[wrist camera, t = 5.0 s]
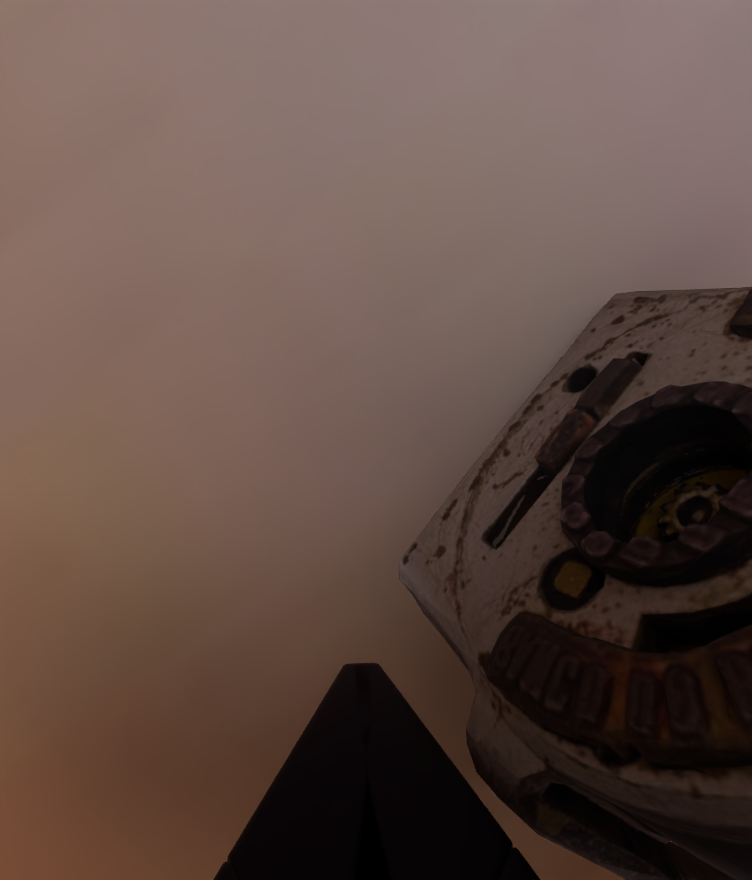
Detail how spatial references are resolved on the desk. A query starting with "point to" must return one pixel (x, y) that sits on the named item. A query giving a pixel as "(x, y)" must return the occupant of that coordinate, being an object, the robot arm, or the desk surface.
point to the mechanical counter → (614, 591)
